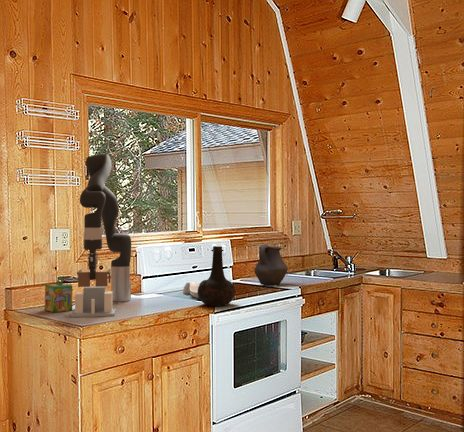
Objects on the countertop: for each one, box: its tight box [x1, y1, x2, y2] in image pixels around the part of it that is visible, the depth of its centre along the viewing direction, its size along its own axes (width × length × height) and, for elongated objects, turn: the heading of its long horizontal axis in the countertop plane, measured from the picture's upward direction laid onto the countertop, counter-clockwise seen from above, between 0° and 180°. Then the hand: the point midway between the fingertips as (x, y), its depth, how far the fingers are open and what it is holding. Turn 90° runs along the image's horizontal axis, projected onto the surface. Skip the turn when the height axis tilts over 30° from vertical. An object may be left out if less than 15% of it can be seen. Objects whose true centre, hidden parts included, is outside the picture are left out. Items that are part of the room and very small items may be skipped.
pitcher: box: [254, 244, 288, 286], centre depth 343 cm, size 21×22×25 cm
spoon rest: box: [182, 281, 200, 299], centre depth 297 cm, size 24×12×7 cm, turn 32°
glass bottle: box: [198, 245, 236, 307], centre depth 268 cm, size 18×18×28 cm
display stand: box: [70, 285, 117, 318], centre depth 244 cm, size 14×18×11 cm
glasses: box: [76, 268, 111, 288], centre depth 244 cm, size 14×13×6 cm
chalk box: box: [44, 276, 73, 313], centre depth 253 cm, size 9×9×15 cm
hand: (92, 279), depth 239 cm, fingers closed on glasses, 2 cm apart
